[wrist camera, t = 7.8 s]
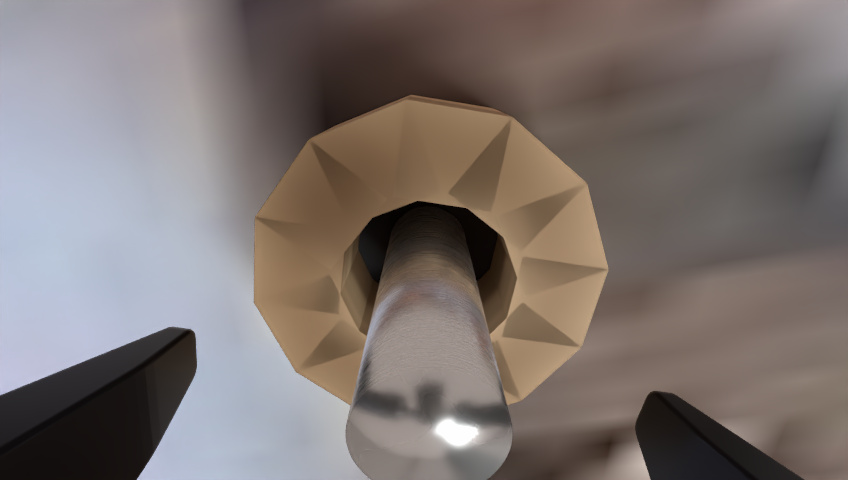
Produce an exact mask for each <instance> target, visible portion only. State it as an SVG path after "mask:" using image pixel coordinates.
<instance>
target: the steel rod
mask: <svg viewBox="0 0 848 480" xmlns="http://www.w3.org/2000/svg"><path fill="white" fill-rule="evenodd" d="M512 434H513V431H512V423H511V419H510V415H509V411H508V407H507V403H506V399H505V395H504V391H503V387H502V383H501V379H500V374H499V370H498V366H497V362H496V358H495V354H494V350H493V346H492V342H491V338H490V334H489V330H488V326H487V322H486V318H485V314H484V310H483V306H482V302H481V298H480V293H479V289H478V285H477V281H476V277H475V273H474V269H473V265H472V261H471V257H470V253H469V249H468V245H467V241H466V237H465V233H464V230H463V227H462V225H461V224H460V222H459V221H458V220H457V218H456V217H454V216H453V215H452V214H451V213H449V212H448V211H446V210H444V209H441V208H438V207H433V206H423V207H418V208H414V209H412V210H410V211H408V212H406V213H405V214H403V215H402V216H401V217H400V218H399V219H398V220H397V222H396V223H395V225H394V226H393V229H392V231H391V235H390V239H389V244H388V248H387V252H386V256H385V261H384V265H383V269H382V274H381V278H380V282H379V287H378V291H377V295H376V300H375V304H374V308H373V312H372V317H371V321H370V325H369V330H368V334H367V338H366V343H365V347H364V351H363V356H362V360H361V364H360V368H359V373H358V377H357V381H356V386H355V390H354V394H353V399H352V403H351V407H350V412H349V416H348V420H347V425H346V442H347V446H348V449H349V453H350V455H351V457H352V459H353V460H354V462H355V463H356V465H357V466H358V467H359V468H360V470H361V471H362V472H363V473H364V474H365V475H367V476H368V477H369V478H370V479H371V480H487V479H488V478H490V477H491V476H492V475H493V474H494V473H495V472H496V471H497V470H498V469H499V468H500V467H501V465H502V464H503V463H504V461H505V459H506V457H507V456H508V453H509V451H510V448H511V443H512Z"/></svg>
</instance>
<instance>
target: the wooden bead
mask: <svg viewBox="0 0 848 480" xmlns="http://www.w3.org/2000/svg"><path fill="white" fill-rule="evenodd" d="M416 201H424V202H430V203H437V204H443V205H450V206H456V207H463V208H468V209H469V210H470V211H471V212H473V213H474V214H475V215H476V216H478V217H479V218H480V219H481V220H483V221H484V222H485V223H486V224H488V225H489V226H490V227H491V228H493V229H494V230H495V231H496V232H497V234H498V237H497V242H496V246H495V250H494V254H493V259H492V263H491V267H490V269H489V270H488V271H487V272H486V273H485V274H484V275H483V276H482V277H481V278H480V280H479V281H478V282H477V285H478V289H479V293H480V298H481V302H482V306H483V310H484V314H485V318H486V322H487V326H488V330H489V334H490V338H491V342H492V346H493V350H494V354H495V358H496V362H497V366H498V370H499V374H500V379H501V383H502V387H503V391H504V395H505V399H506V403H507V405H509V404H512V403H516V402H519V401H522V400H523V399H524V398H525V397H526V396H527V395H528V394H529V393H531V392H532V391H533V390H534V389H535V388H536V387H537V386H538V385H540V384H541V383H542V382H543V381H544V380H545V379H546V378H547V377H549V376H550V375H551V374H552V373H553V372H554V371H555V370H556V369H558V368H559V367H560V366H561V365H562V364H563V363H564V362H566V361H567V360H568V359H569V358H570V357H571V356H572V355H573V354H575V353H576V352H577V351H578V350H579V349H580V348H581V347H582V344H583V341H584V338H585V335H586V333H587V330H588V327H589V324H590V321H591V318H592V315H593V313H594V310H595V307H596V304H597V301H598V298H599V295H600V292H601V290H602V287H603V284H604V281H605V278H606V275H607V272H608V266H607V262H606V258H605V254H604V250H603V246H602V242H601V238H600V234H599V230H598V226H597V222H596V218H595V214H594V210H593V206H592V202H591V198H590V194H589V190H588V186H587V183H586V182H585V181H584V180H583V179H581V178H580V177H579V176H578V175H577V174H576V173H575V172H574V171H572V170H571V169H570V168H569V167H568V166H567V165H566V164H565V163H563V162H562V161H561V160H560V159H559V158H558V157H557V156H556V155H555V154H553V153H552V152H551V151H550V150H549V149H548V148H547V147H546V146H544V145H543V144H542V143H541V142H540V141H539V140H538V139H537V138H535V137H534V136H533V135H532V134H531V133H530V132H529V131H528V130H527V129H525V128H524V127H523V126H522V125H521V124H520V123H519V122H518V121H516V120H515V119H514V118H513V117H512V116H509V115H507V114H505V113H503V112H500V111H498V110H496V109H493V108H489V107H483V106H477V105H471V104H465V103H459V102H453V101H447V100H441V99H435V98H429V97H423V96H416V95H409V96H406V97H404V98H402V99H399V100H397V101H394V102H392V103H389V104H387V105H385V106H382V107H380V108H377V109H375V110H372V111H370V112H367V113H365V114H363V115H360V116H358V117H355V118H353V119H350V120H348V121H346V122H343V123H341V124H338V125H336V126H334V127H332V128H330V129H328V130H326V131H324V132H322V133H320V134H318V135H316V136H314V137H312V138H310V139H309V140H308V141H307V143H306V144H305V146H304V147H303V149H302V150H301V151H300V153H299V154H298V156H297V157H296V159H295V160H294V162H293V163H292V164H291V166H290V167H289V169H288V170H287V172H286V173H285V175H284V176H283V177H282V179H281V180H280V182H279V183H278V185H277V186H276V188H275V189H274V190H273V192H272V193H271V195H270V196H269V198H268V199H267V201H266V202H265V203H264V205H263V206H262V208H261V209H260V211H259V212H258V213H257V215H256V216H255V252H254V303H255V305H256V307H257V308H258V310H259V312H260V313H261V315H262V317H263V318H264V320H265V322H266V323H267V325H268V327H269V328H270V330H271V332H272V333H273V335H274V336H275V338H276V340H277V341H278V343H279V345H280V346H281V348H282V350H283V351H284V353H285V355H286V356H287V358H288V360H289V361H290V363H291V365H292V366H293V368H294V370H295V371H296V372H297V373H299V374H300V375H302V376H304V377H305V378H307V379H308V380H310V381H312V382H313V383H315V384H317V385H318V386H320V387H322V388H323V389H325V390H326V391H328V392H330V393H331V394H333V395H335V396H336V397H338V398H340V399H341V400H343V401H344V402H346V403H348V404H349V405H351V403H352V399H353V394H354V390H355V386H356V381H357V377H358V373H359V368H360V364H361V360H362V356H363V351H364V347H365V343H366V338H367V334H368V330H369V325H370V321H371V317H372V312H373V308H374V304H375V300H376V295H377V291H378V287H379V283H377V282H376V281H374V280H373V279H372V277H371V275H370V272H369V270H368V268H367V266H366V264H365V262H364V260H363V258H362V256H361V254H360V252H359V249H358V247H359V238H360V232H361V231H362V230H363V229H364V227H365V226H366V225H367V224H368V222H369V221H370V220H371V219H372V218H373V217H375V216H378V215H381V214H383V213H386V212H389V211H392V210H394V209H397V208H400V207H402V206H405V205H408V204H410V203H413V202H416Z"/></svg>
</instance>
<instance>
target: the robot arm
mask: <svg viewBox="0 0 848 480" xmlns="http://www.w3.org/2000/svg"><path fill="white" fill-rule="evenodd" d="M196 368H197V356H196V337H195V333H194V331H192V330H191V329H186V328H178V327H169V328H166V329H163V330H161V331H158V332H156V333H154V334H151V335H149V336H146V337H144V338H141V339H139V340H136V341H134V342H131V343H129V344H126V345H124V346H121V347H119V348H116V349H114V350H111V351H109V352H107V353H104V354H102V355H99V356H97V357H94V358H92V359H89V360H87V361H84V362H82V363H79V364H77V365H74V366H72V367H69V368H67V369H64V370H62V371H60V372H57V373H55V374H52V375H50V376H47V377H45V378H42V379H40V380H37V381H35V382H32V383H30V384H27V385H25V386H22V387H20V388H17V389H15V390H13V391H10V392H8V393H5V394H3V395H0V480H137V478H138V477H139V475H140V474H141V472H142V471H143V469H144V468H145V466H146V465H147V463H148V462H149V460H150V458H151V457H152V455H153V454H154V452H155V450H156V448H157V446H158V445H159V443H160V441H161V439H162V437H163V435H164V434H165V432H166V430H167V428H168V426H169V424H170V422H171V420H172V418H173V416H174V414H175V413H176V411H177V409H178V407H179V405H180V403H181V401H182V399H183V397H184V395H185V393H186V392H187V390H188V388H189V386H190V384H191V382H192V380H193V378H194V376H195V373H196ZM635 430H636V436H637V439H638V442H639V445H640V448H641V451H642V454H643V457H644V460H645V463H646V466H647V470H648V473H649V476H650V479H651V480H804V479H803V478H801V477H800V476H798V475H797V474H795V473H793V472H792V471H790V470H789V469H787V468H786V467H784V466H783V465H781V464H780V463H778V462H777V461H775V460H774V459H772V458H771V457H769V456H768V455H766V454H765V453H763V452H762V451H760V450H759V449H757V448H756V447H754V446H752V445H751V444H749V443H748V442H746V441H745V440H743V439H742V438H740V437H739V436H737V435H736V434H734V433H733V432H731V431H730V430H728V429H727V428H725V427H724V426H722V425H721V424H719V423H718V422H716V421H715V420H713V419H711V418H710V417H708V416H707V415H705V414H704V413H702V412H701V411H699V410H698V409H696V408H695V407H693V406H692V405H690V404H689V403H687V402H686V401H684V400H683V399H681V398H680V397H678V396H677V395H675V394H672V393H667V392H660V391H652V392H650V393H649V394H648V396H647V398H646V400H645V402H644V404H643V407H642V409H641V411H640V413H639V416H638V418H637V420H636V425H635Z"/></svg>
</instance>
